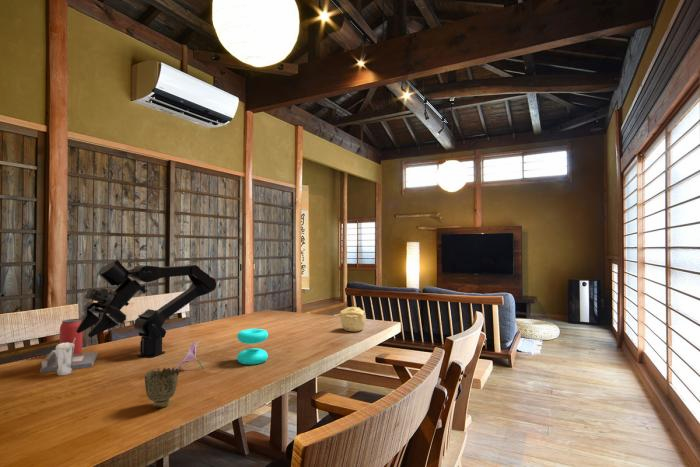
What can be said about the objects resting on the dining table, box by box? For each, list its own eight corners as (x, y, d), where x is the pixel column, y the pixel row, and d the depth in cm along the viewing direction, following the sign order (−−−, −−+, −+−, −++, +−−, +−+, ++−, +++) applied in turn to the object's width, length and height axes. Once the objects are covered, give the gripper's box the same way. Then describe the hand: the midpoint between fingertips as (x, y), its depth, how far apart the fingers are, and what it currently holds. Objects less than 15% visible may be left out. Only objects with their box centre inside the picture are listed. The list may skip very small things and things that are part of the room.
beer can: (70, 357, 134) (71, 322, 134) (54, 356, 135) (55, 321, 136) (86, 352, 140) (87, 318, 141) (71, 351, 142) (72, 318, 142)
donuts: (231, 331, 131) (257, 326, 138) (231, 361, 130) (256, 355, 138) (248, 335, 124) (274, 330, 131) (247, 367, 123) (273, 361, 131)
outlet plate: (97, 355, 137) (97, 346, 137) (91, 367, 124) (91, 356, 124) (51, 360, 131) (51, 350, 131) (40, 372, 118) (40, 362, 118)
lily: (198, 364, 130) (183, 340, 129) (224, 354, 126) (208, 329, 124) (173, 387, 119) (156, 361, 118) (200, 377, 115) (183, 350, 113)
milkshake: (79, 371, 119) (80, 338, 120) (61, 376, 114) (63, 342, 115) (69, 369, 121) (70, 337, 121) (51, 375, 116) (52, 340, 116)
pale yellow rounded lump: (338, 332, 175) (338, 308, 176) (343, 327, 187) (343, 304, 187) (363, 333, 173) (363, 308, 174) (367, 328, 185) (367, 305, 185)
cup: (151, 400, 97) (152, 367, 97) (182, 399, 98) (183, 366, 98) (137, 412, 90) (138, 377, 90) (171, 411, 90) (172, 376, 90)
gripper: (91, 277, 132) (50, 315, 122) (116, 280, 121) (73, 321, 111) (116, 298, 138) (79, 336, 128) (142, 303, 127) (103, 344, 117)
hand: (82, 334), depth 121 cm, fingers open, 9 cm apart
